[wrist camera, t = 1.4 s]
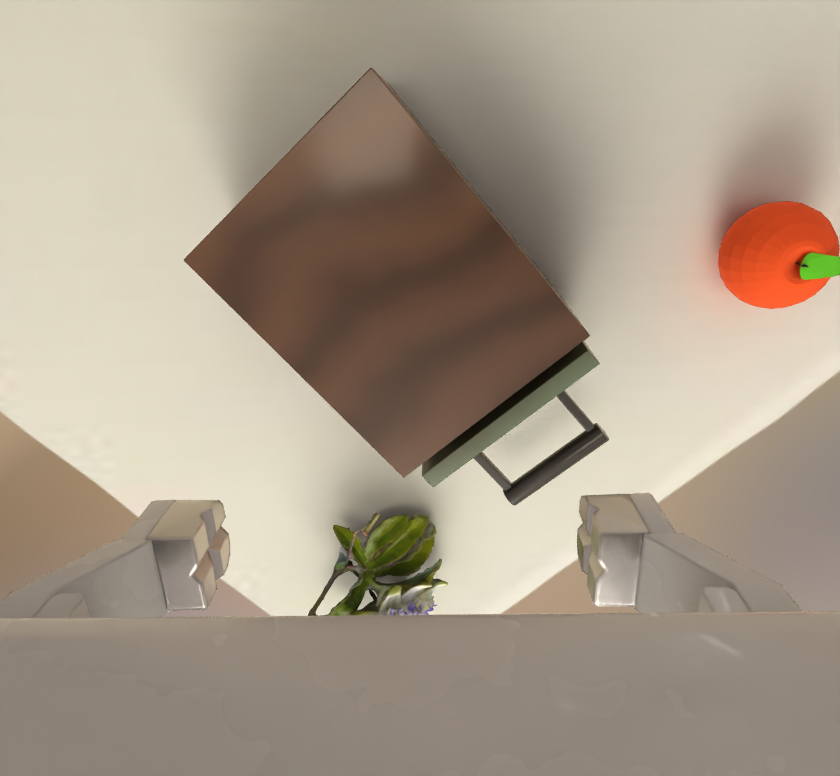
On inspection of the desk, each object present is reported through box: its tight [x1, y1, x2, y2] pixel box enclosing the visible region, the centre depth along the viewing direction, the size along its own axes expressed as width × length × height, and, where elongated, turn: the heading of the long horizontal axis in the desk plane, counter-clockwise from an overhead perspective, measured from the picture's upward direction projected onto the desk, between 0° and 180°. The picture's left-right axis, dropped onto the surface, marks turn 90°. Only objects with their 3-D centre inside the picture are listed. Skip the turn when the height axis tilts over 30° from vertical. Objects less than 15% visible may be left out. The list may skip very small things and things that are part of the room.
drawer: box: [422, 341, 609, 505], centre depth 42 cm, size 23×13×9 cm, turn 41°
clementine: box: [718, 201, 840, 309], centre depth 41 cm, size 8×7×7 cm
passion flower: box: [308, 513, 448, 616], centre depth 52 cm, size 11×11×12 cm
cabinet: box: [184, 68, 590, 477], centre depth 40 cm, size 19×15×11 cm
